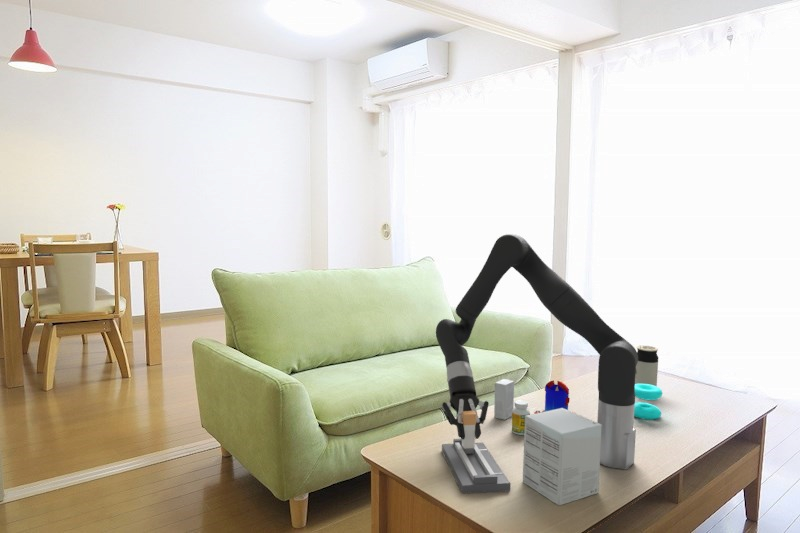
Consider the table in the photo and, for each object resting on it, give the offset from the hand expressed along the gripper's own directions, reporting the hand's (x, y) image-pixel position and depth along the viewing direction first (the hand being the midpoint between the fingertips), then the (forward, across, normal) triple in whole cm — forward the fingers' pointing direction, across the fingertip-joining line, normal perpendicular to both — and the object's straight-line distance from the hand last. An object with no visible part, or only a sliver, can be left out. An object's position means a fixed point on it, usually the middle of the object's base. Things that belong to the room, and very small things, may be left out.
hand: (470, 437), depth 147 cm
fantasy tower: (-18, +39, +28) cm, 51 cm away
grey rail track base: (+8, 0, +2) cm, 8 cm away
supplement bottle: (-8, +21, +18) cm, 29 cm away
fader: (+2, 0, +5) cm, 5 cm away
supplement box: (+16, +19, -6) cm, 25 cm away
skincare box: (-18, +20, +28) cm, 39 cm away
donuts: (-15, +69, +26) cm, 75 cm away
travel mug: (-30, +82, +41) cm, 97 cm away
